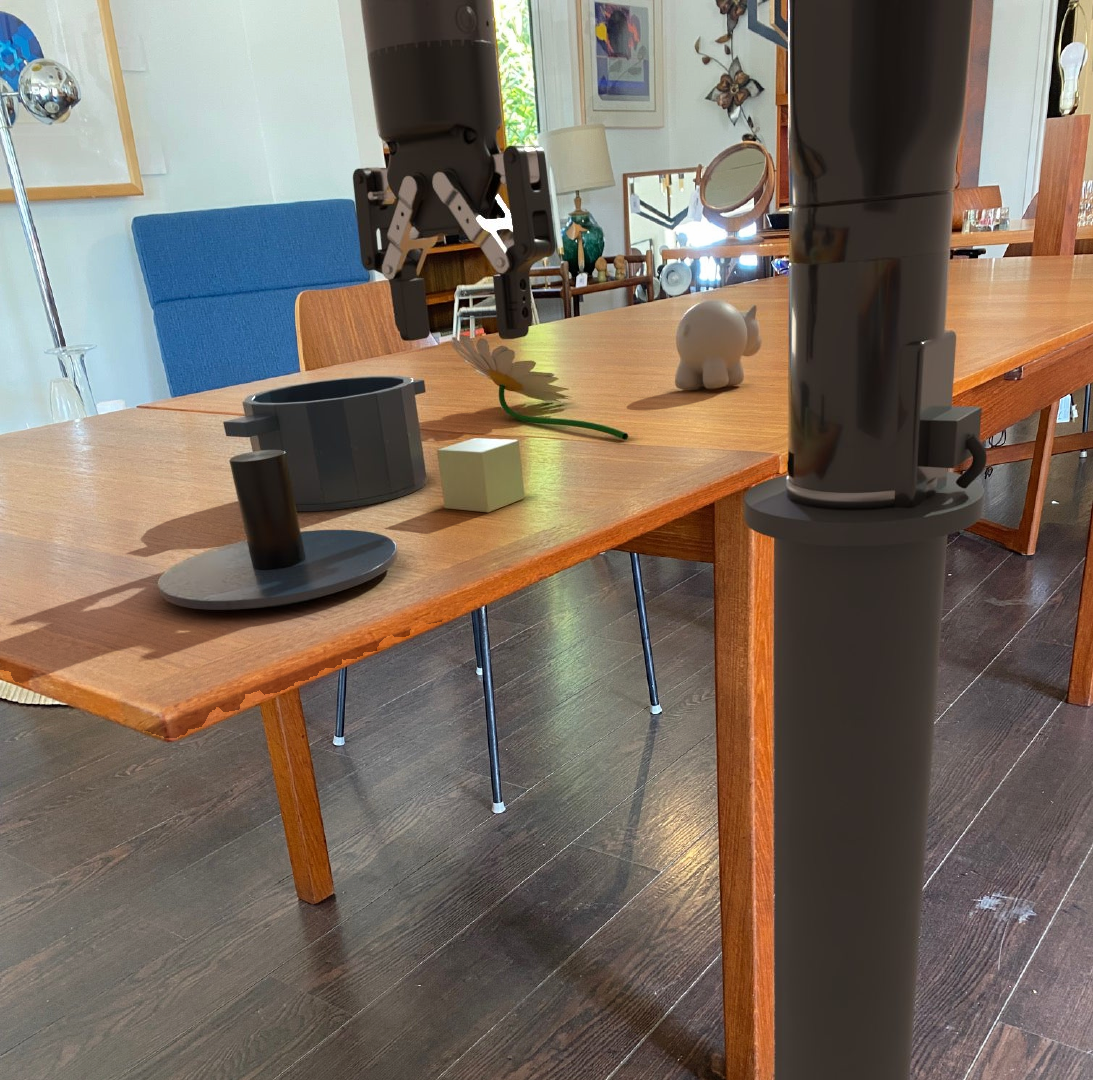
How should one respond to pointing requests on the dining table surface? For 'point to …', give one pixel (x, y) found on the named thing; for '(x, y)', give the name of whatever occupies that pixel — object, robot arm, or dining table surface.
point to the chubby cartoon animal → (715, 344)
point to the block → (481, 474)
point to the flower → (520, 381)
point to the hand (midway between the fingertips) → (463, 338)
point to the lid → (274, 550)
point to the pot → (340, 438)
